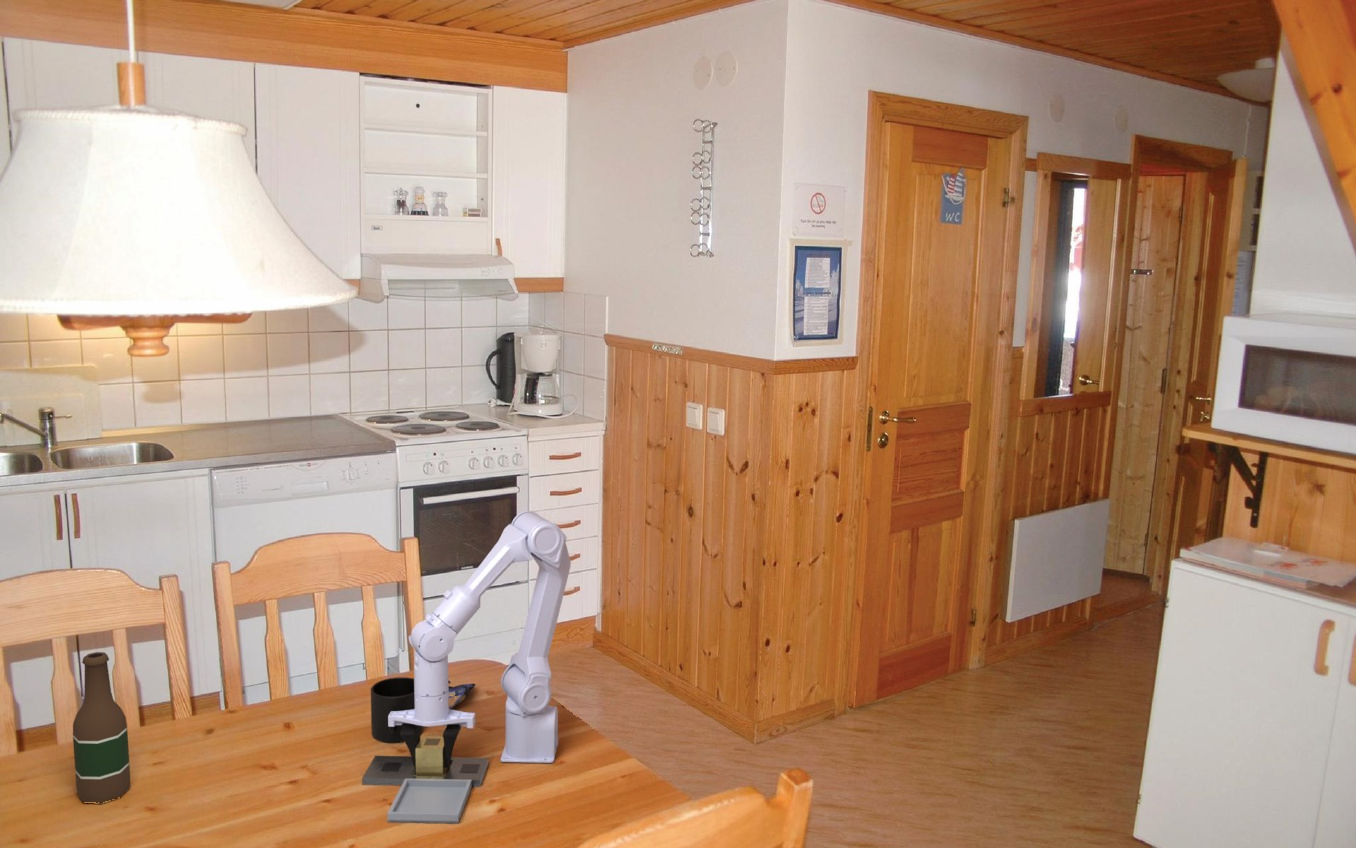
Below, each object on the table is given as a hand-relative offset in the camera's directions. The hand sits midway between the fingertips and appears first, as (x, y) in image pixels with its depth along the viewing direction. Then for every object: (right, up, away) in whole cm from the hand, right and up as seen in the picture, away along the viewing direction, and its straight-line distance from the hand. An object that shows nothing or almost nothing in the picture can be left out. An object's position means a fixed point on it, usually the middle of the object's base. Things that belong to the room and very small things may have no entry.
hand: (432, 764), depth 177 cm
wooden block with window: (0, -2, 0) cm, 2 cm away
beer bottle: (-52, -2, -9) cm, 53 cm away
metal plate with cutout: (-1, -2, 0) cm, 2 cm away
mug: (-10, 0, +14) cm, 18 cm away
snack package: (-4, +2, +30) cm, 31 cm away
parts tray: (+2, -3, -10) cm, 10 cm away
